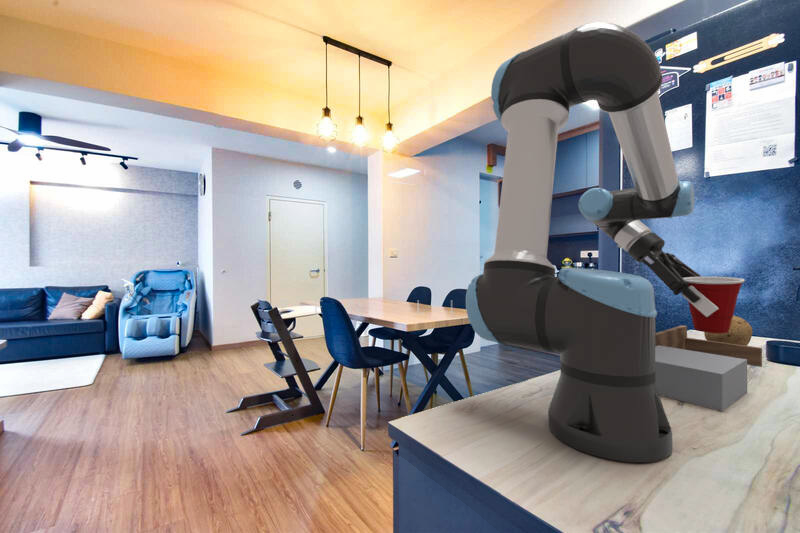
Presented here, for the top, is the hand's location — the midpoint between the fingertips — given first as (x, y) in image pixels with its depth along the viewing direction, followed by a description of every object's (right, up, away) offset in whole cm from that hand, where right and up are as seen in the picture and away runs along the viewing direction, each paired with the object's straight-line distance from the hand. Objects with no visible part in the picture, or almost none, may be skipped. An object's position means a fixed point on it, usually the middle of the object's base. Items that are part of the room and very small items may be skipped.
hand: (720, 310), depth 79 cm
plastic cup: (-1, -5, +1) cm, 5 cm away
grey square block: (-16, -13, -11) cm, 24 cm away
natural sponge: (+14, -13, +13) cm, 23 cm away
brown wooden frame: (-2, -13, +3) cm, 13 cm away
